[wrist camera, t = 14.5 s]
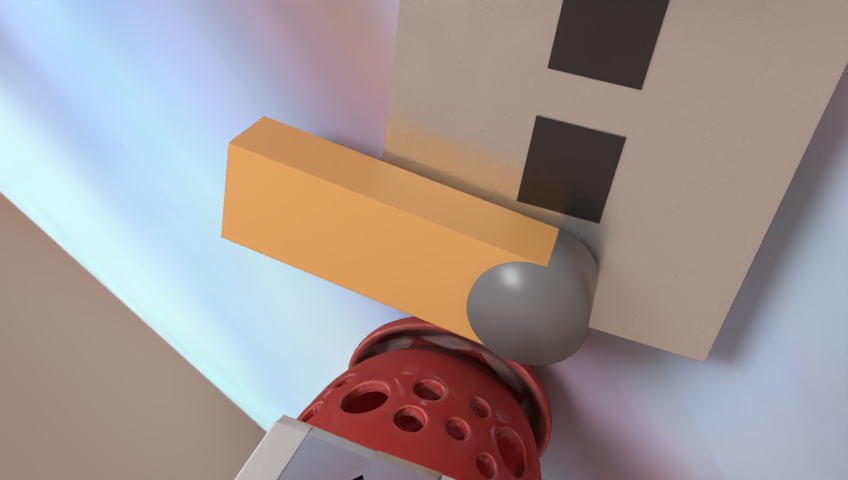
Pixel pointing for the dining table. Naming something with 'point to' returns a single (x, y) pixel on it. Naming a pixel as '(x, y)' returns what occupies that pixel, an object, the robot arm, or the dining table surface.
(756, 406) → the dining table surface
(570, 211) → the panel
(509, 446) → the plant pot
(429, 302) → the swing bar
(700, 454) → the dining table surface
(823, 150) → the dining table surface
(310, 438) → the robot arm
